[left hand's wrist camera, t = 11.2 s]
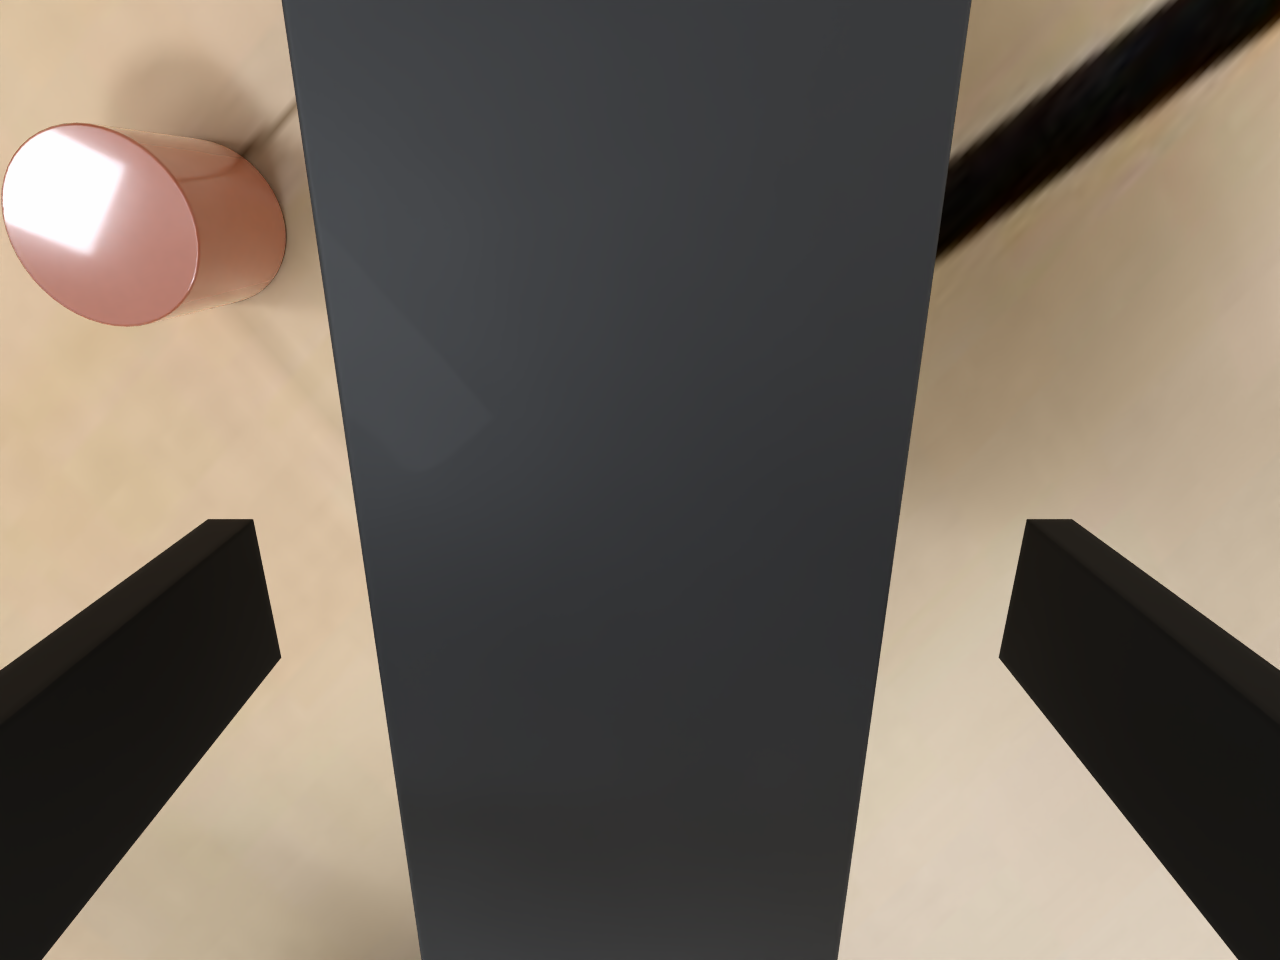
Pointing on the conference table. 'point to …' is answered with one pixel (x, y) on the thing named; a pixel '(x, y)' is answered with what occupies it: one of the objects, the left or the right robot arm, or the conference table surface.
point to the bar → (627, 440)
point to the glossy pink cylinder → (140, 222)
